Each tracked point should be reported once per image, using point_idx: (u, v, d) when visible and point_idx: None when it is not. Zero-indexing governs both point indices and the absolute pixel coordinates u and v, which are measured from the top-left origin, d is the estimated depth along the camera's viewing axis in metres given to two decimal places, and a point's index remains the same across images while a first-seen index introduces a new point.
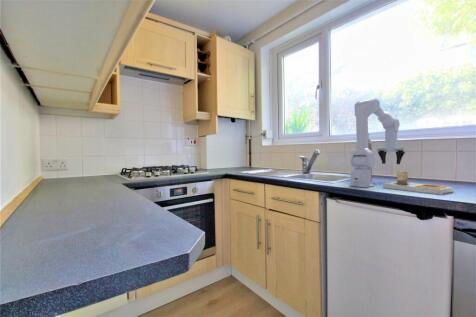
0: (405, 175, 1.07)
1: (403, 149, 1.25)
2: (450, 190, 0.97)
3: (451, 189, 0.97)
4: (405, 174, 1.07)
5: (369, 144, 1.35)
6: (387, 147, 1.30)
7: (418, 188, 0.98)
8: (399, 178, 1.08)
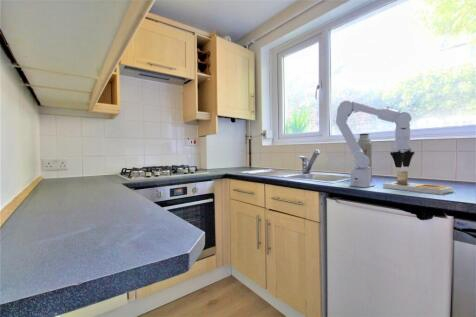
0: (405, 175, 1.07)
1: None
2: (450, 190, 0.97)
3: (451, 189, 0.97)
4: (405, 174, 1.07)
5: (369, 144, 1.35)
6: None
7: (418, 188, 0.98)
8: (399, 178, 1.08)
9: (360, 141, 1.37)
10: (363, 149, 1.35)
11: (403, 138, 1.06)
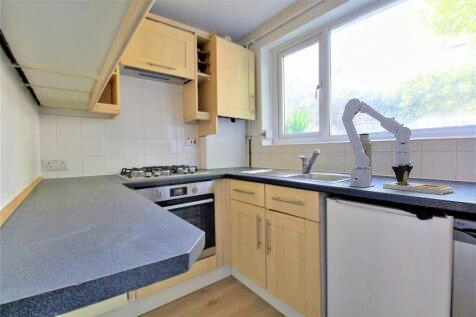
0: (405, 175, 1.07)
1: None
2: (450, 190, 0.97)
3: (451, 189, 0.97)
4: (405, 174, 1.07)
5: (369, 144, 1.35)
6: None
7: (418, 188, 0.98)
8: None
9: (360, 141, 1.37)
10: (363, 149, 1.35)
11: (403, 153, 1.06)
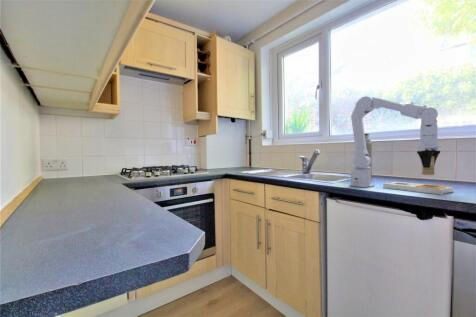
0: (432, 160, 0.98)
1: None
2: (450, 190, 0.97)
3: (451, 189, 0.97)
4: (431, 159, 0.98)
5: (369, 144, 1.35)
6: None
7: (418, 188, 0.98)
8: None
9: None
10: None
11: (430, 136, 0.97)
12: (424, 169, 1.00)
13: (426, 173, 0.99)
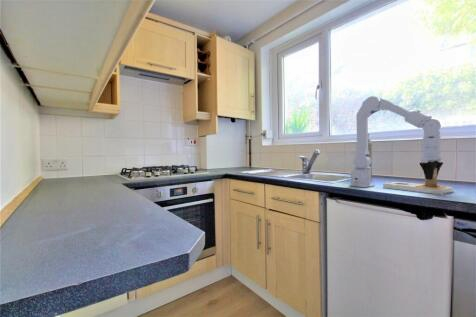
0: (435, 172, 0.97)
1: None
2: (450, 190, 0.97)
3: (451, 189, 0.97)
4: (434, 171, 0.97)
5: (369, 144, 1.35)
6: None
7: (418, 188, 0.98)
8: None
9: None
10: None
11: (433, 147, 0.97)
12: (427, 181, 0.99)
13: (429, 185, 0.98)
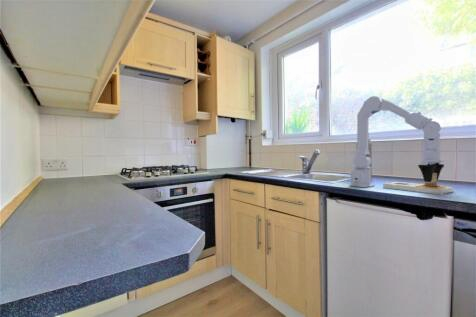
0: (434, 177, 0.98)
1: None
2: (450, 190, 0.97)
3: (451, 189, 0.97)
4: (434, 176, 0.97)
5: (369, 144, 1.35)
6: None
7: (418, 188, 0.98)
8: None
9: None
10: None
11: (433, 150, 0.97)
12: None
13: None
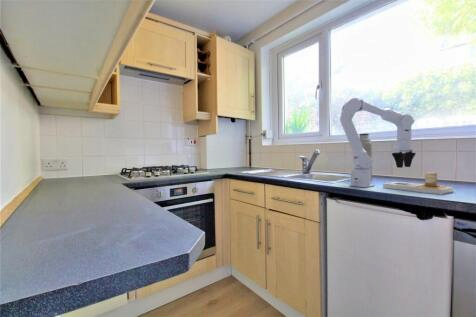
0: (434, 177, 0.98)
1: None
2: (450, 190, 0.97)
3: (451, 189, 0.97)
4: (434, 176, 0.97)
5: (369, 144, 1.35)
6: None
7: (418, 188, 0.98)
8: (427, 180, 0.99)
9: None
10: None
11: (404, 139, 1.11)
12: None
13: None
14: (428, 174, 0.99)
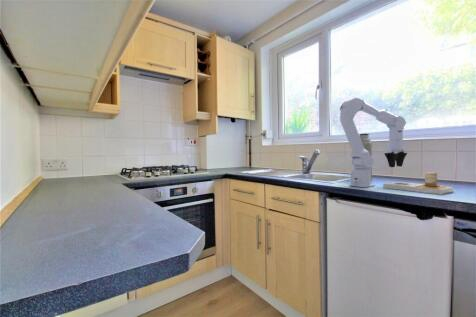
0: (434, 177, 0.98)
1: None
2: (450, 190, 0.97)
3: (451, 189, 0.97)
4: (434, 176, 0.97)
5: (369, 144, 1.35)
6: None
7: (418, 188, 0.98)
8: (427, 180, 0.99)
9: None
10: None
11: (396, 140, 1.16)
12: None
13: None
14: (428, 174, 0.99)
